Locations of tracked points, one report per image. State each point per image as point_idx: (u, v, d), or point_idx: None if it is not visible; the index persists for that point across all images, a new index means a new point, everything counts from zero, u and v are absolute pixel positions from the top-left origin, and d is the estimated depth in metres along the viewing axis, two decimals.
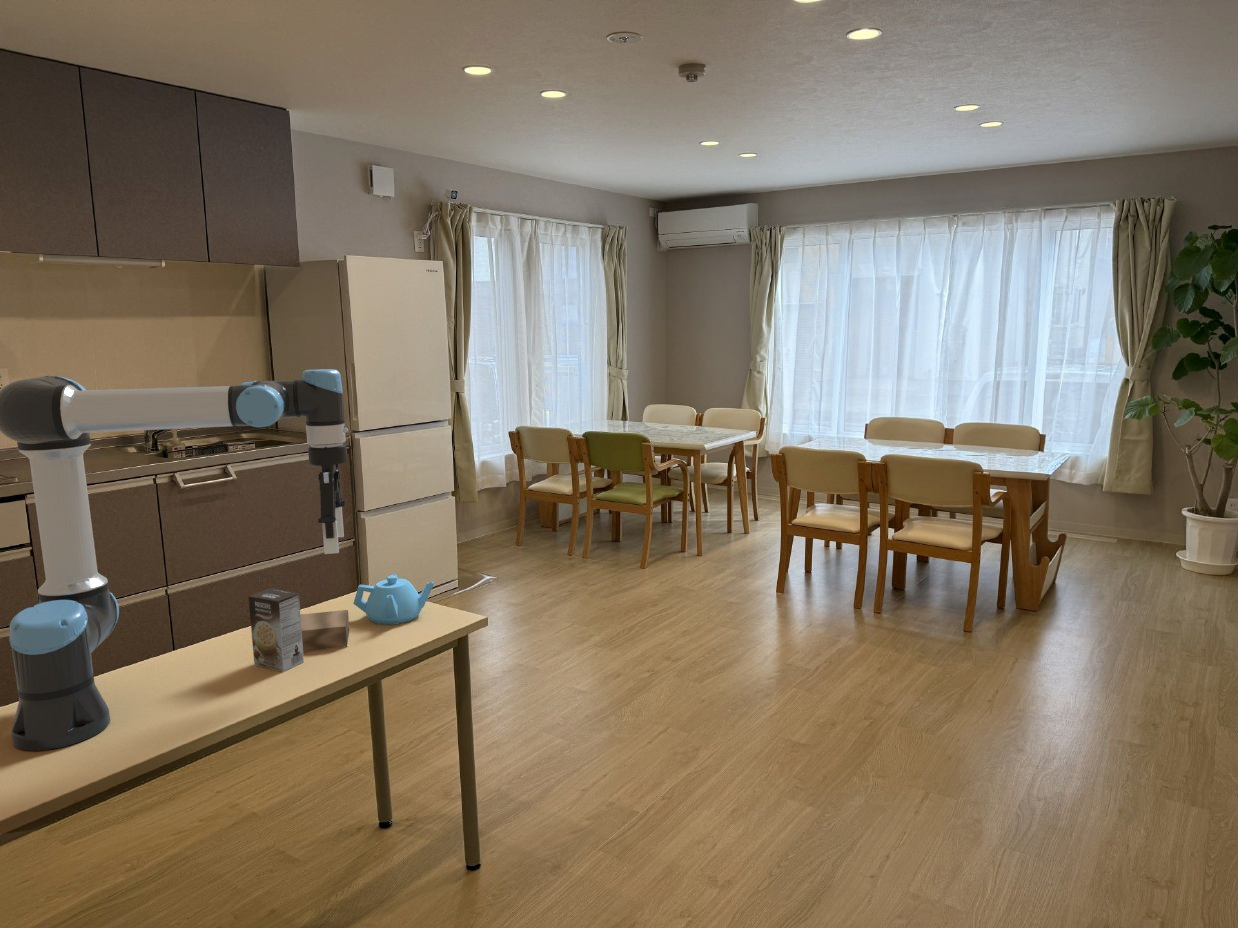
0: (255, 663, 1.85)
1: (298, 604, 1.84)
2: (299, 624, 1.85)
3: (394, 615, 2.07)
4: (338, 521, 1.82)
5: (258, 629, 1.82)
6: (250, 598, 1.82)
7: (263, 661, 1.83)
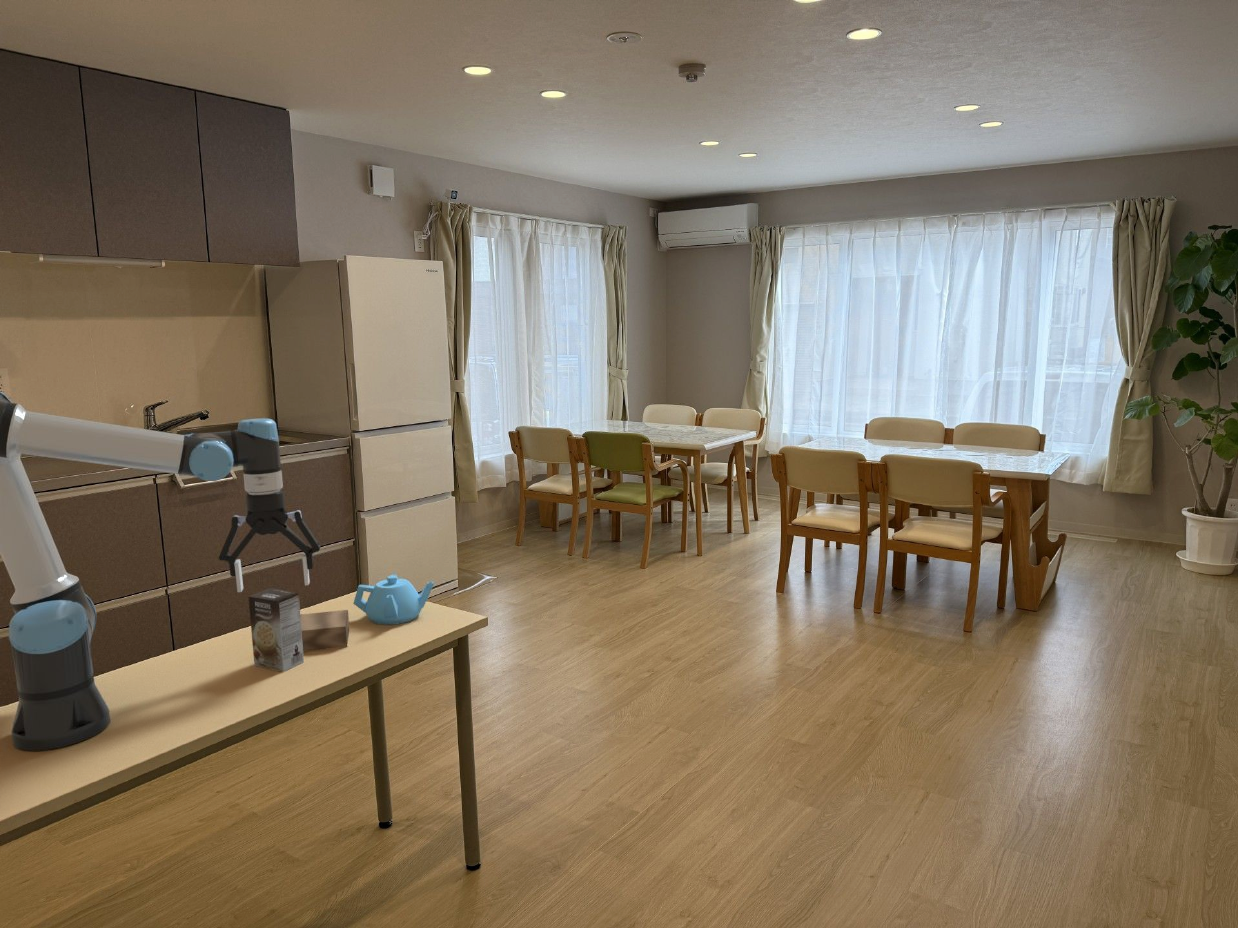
0: (255, 663, 1.85)
1: (298, 604, 1.84)
2: (299, 624, 1.85)
3: (394, 615, 2.07)
4: None
5: (258, 629, 1.82)
6: (250, 598, 1.82)
7: (263, 661, 1.83)
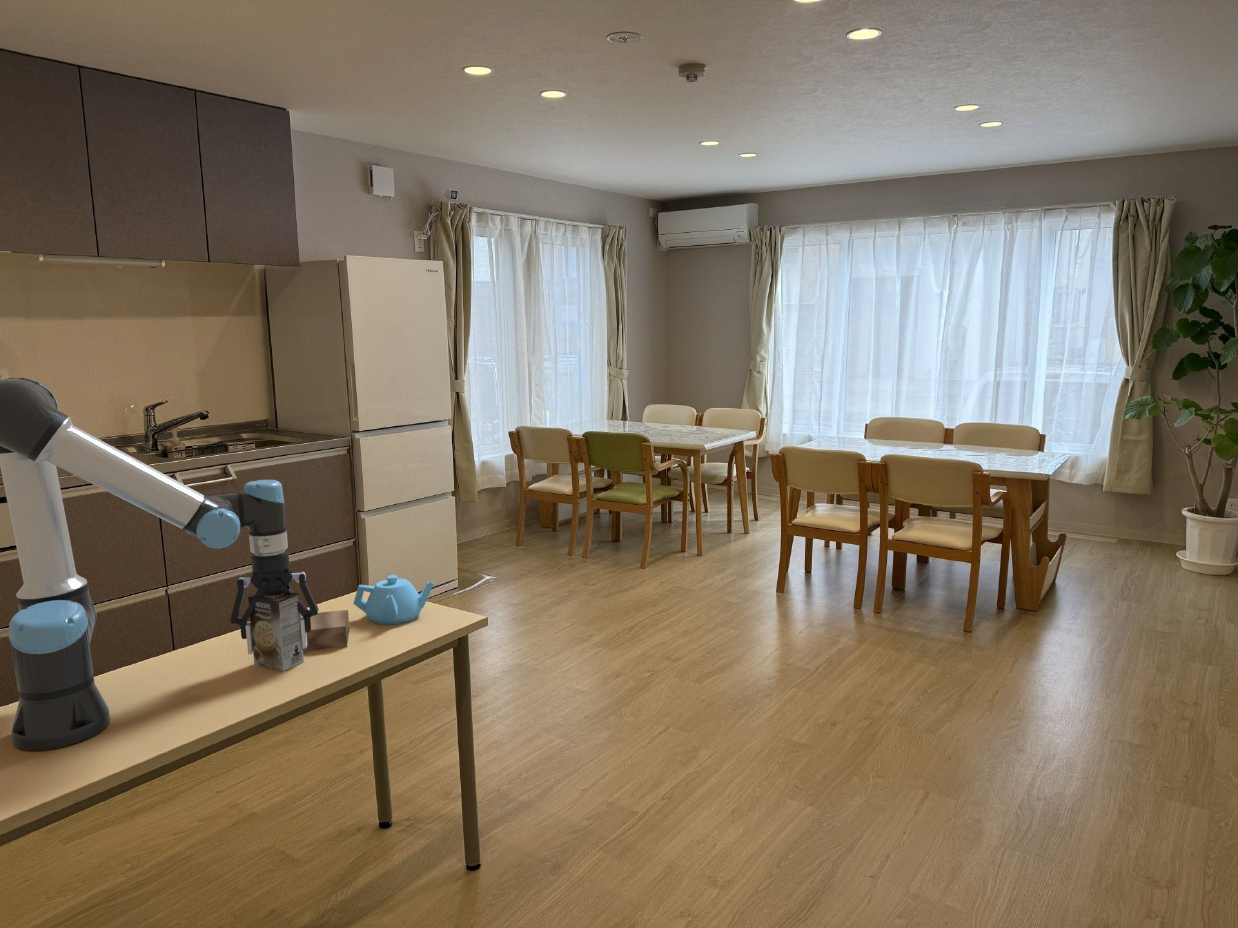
0: (255, 663, 1.85)
1: None
2: (299, 624, 1.85)
3: (394, 615, 2.07)
4: None
5: (258, 629, 1.82)
6: (250, 598, 1.82)
7: (263, 661, 1.83)
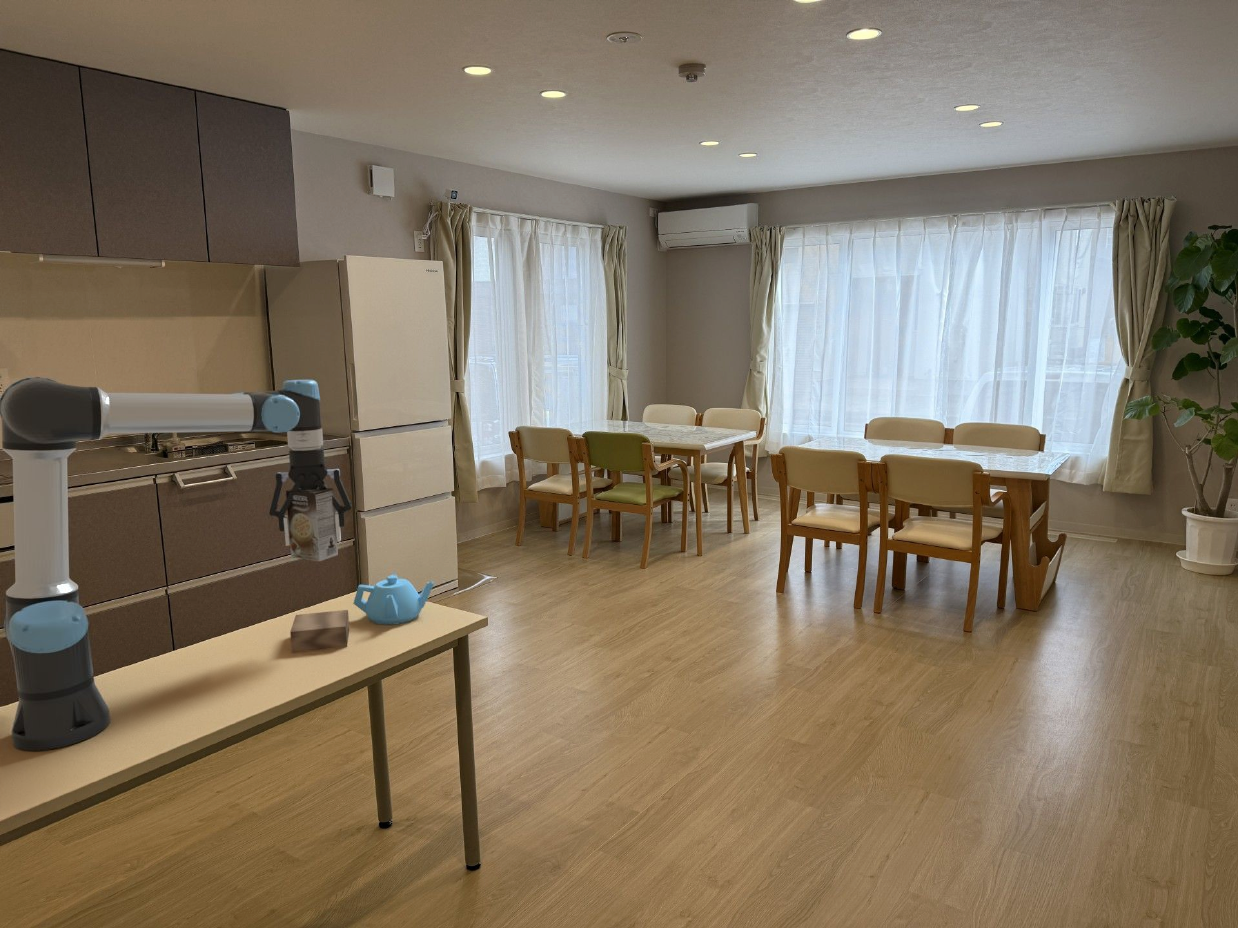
0: (292, 555, 1.95)
1: None
2: (334, 518, 1.95)
3: (394, 615, 2.07)
4: (336, 526, 1.95)
5: (295, 521, 1.92)
6: (287, 492, 1.92)
7: (299, 553, 1.93)
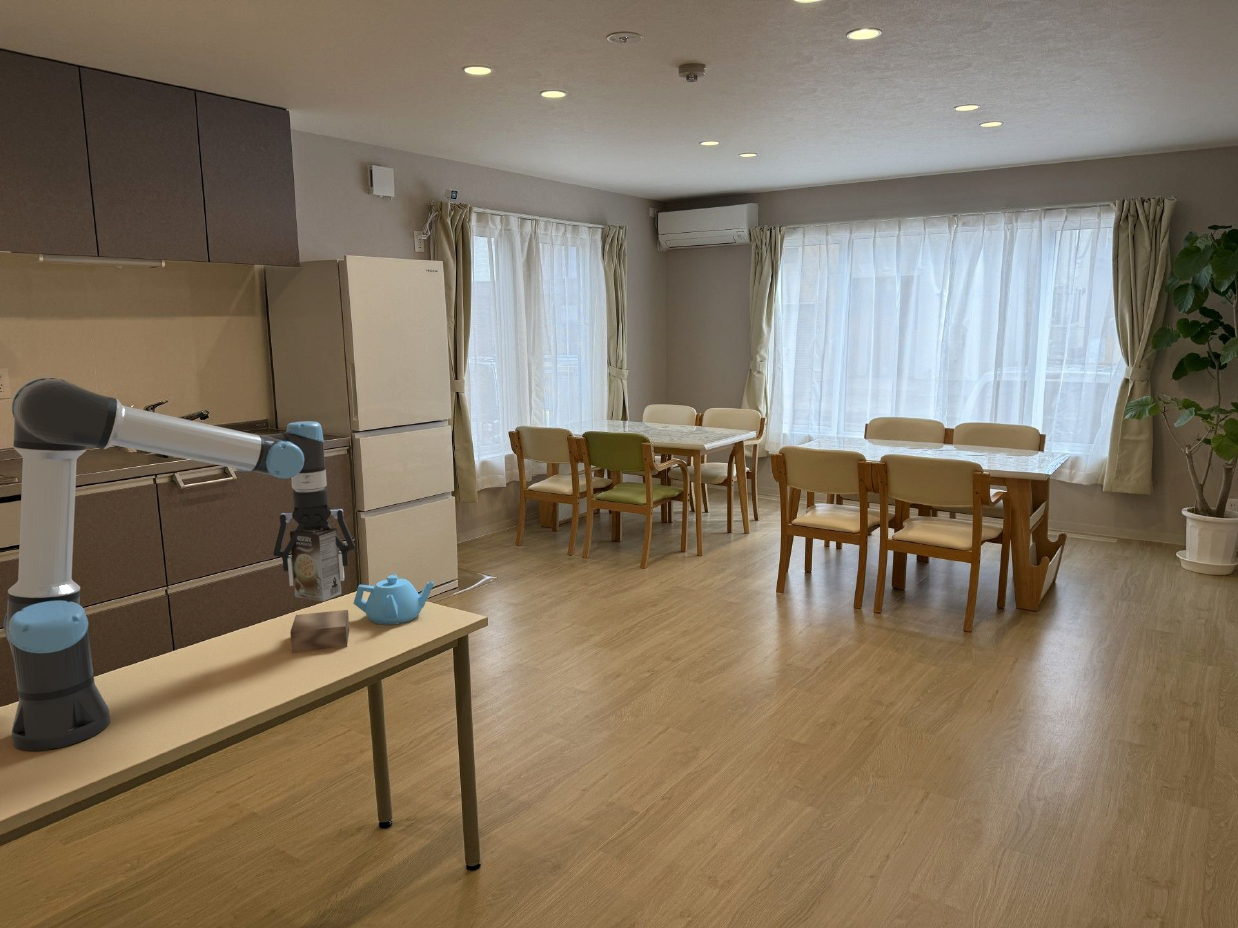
0: (296, 594, 1.96)
1: None
2: (337, 557, 1.96)
3: (394, 615, 2.07)
4: (339, 565, 1.97)
5: (299, 561, 1.94)
6: (291, 532, 1.94)
7: (303, 593, 1.95)
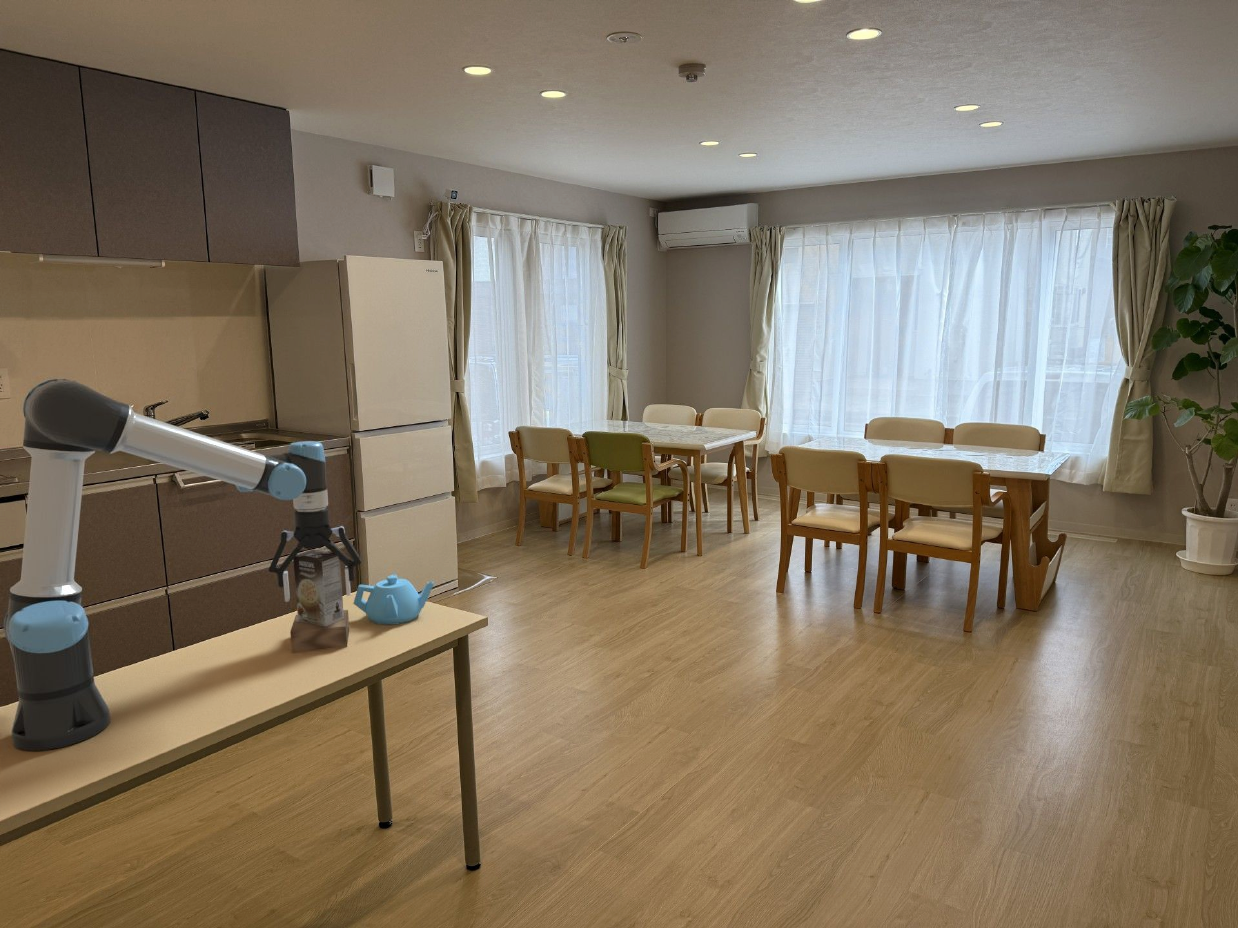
0: (299, 619, 1.97)
1: (339, 564, 1.97)
2: (340, 583, 1.97)
3: (394, 615, 2.07)
4: None
5: (302, 587, 1.95)
6: (295, 558, 1.95)
7: (306, 617, 1.96)
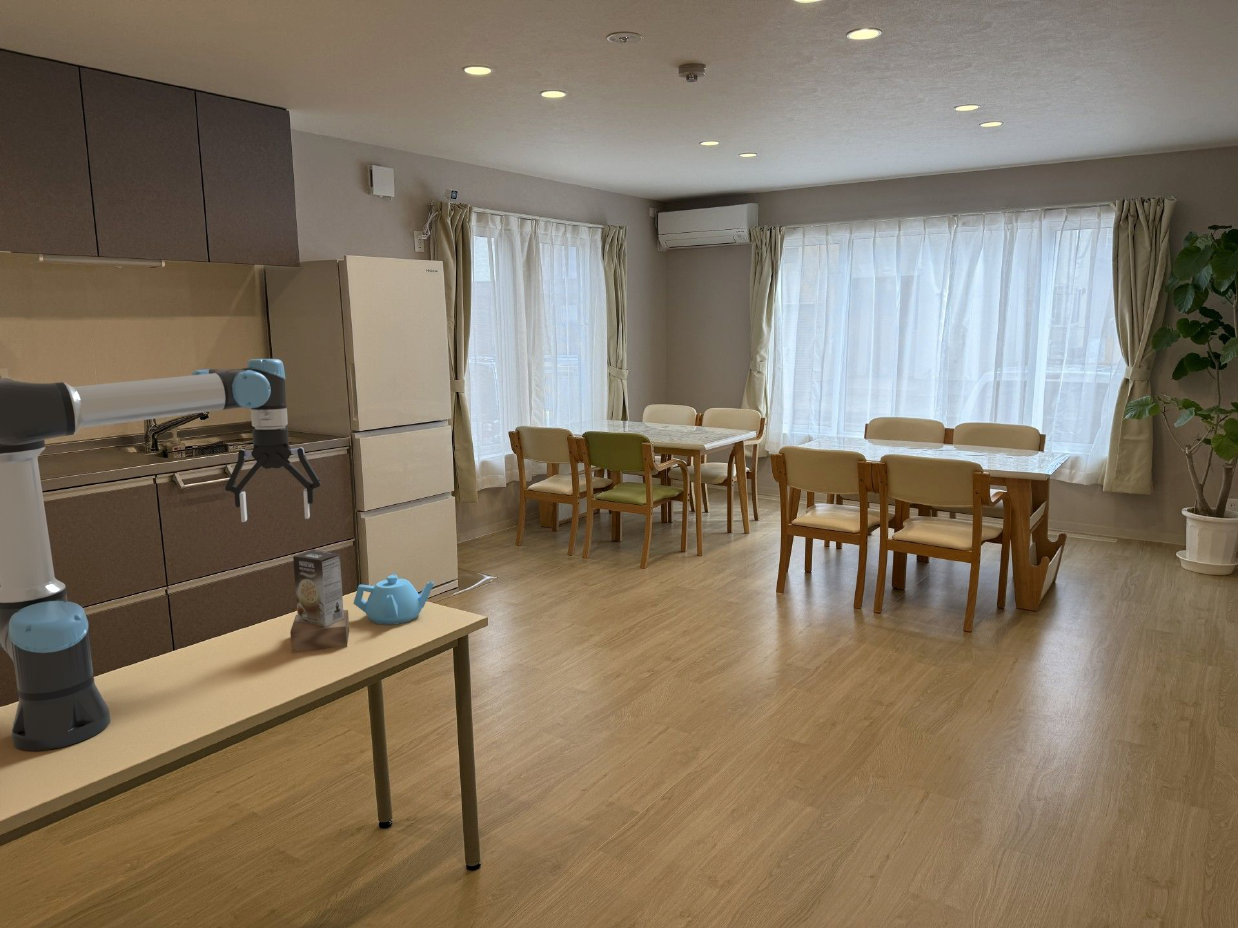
0: (299, 619, 1.97)
1: (339, 564, 1.97)
2: (340, 583, 1.97)
3: (394, 615, 2.07)
4: None
5: (302, 587, 1.95)
6: (295, 558, 1.95)
7: (306, 617, 1.96)
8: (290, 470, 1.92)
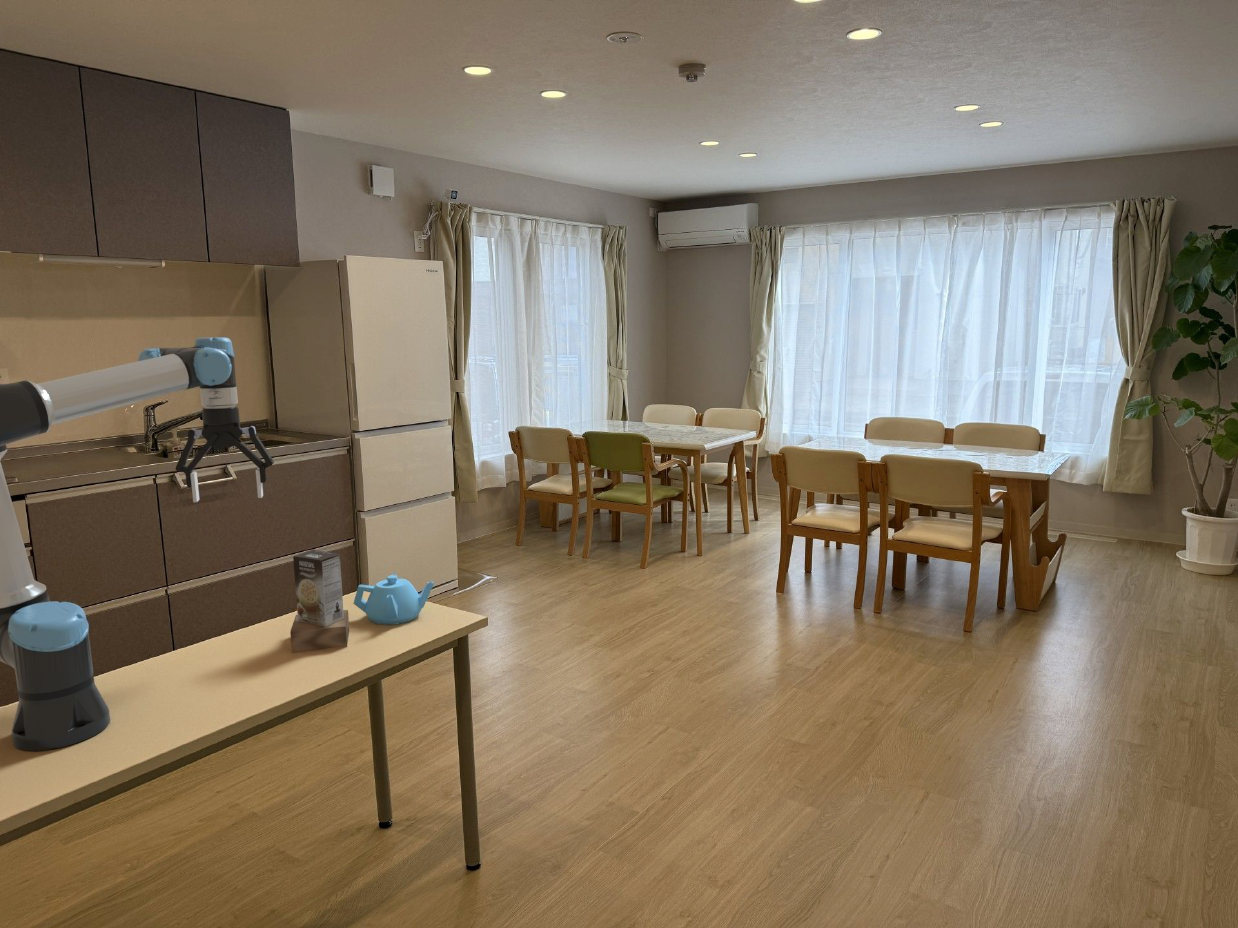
0: (299, 619, 1.97)
1: (339, 564, 1.97)
2: (340, 583, 1.97)
3: (394, 615, 2.07)
4: (257, 482, 1.93)
5: (302, 587, 1.95)
6: (295, 558, 1.95)
7: (306, 617, 1.96)
8: (241, 449, 1.91)
